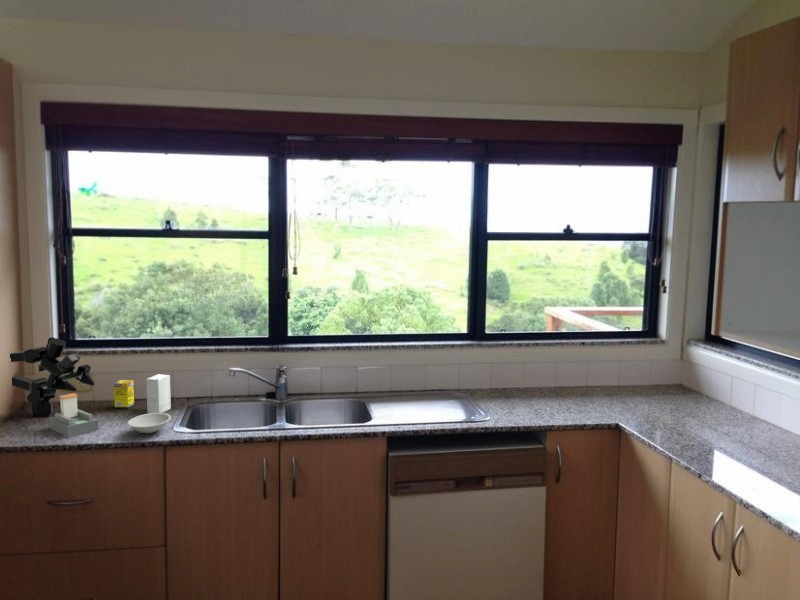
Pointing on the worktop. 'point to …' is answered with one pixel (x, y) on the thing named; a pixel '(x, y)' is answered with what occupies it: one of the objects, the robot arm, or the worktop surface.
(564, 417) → the worktop surface
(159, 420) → the dish
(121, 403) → the supplement box
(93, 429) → the grey holder base
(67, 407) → the handle
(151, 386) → the skincare box
